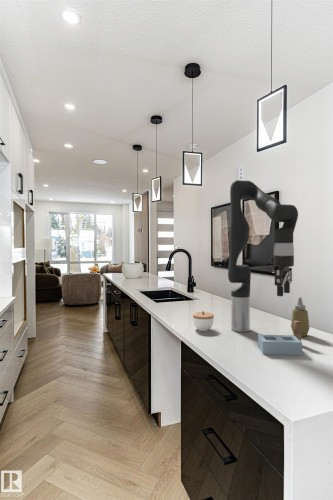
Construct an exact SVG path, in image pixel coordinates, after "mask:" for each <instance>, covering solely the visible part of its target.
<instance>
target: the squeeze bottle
mask: <svg viewBox="0 0 333 500" xmlns="http://www.w3.org/2000/svg"><path fill="white" fill-rule="evenodd" d="M294 321H301V338H303V337H307V336H308V335H309V334H308V333H309V331H310V320H309V311H308V310H307V309H306V305H305V304H304V303H303V298H302V297H298V299H297V303H296V304H294V309H292V314H291V323H290V328H291V332H292V333H293V335H294Z"/></svg>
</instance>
